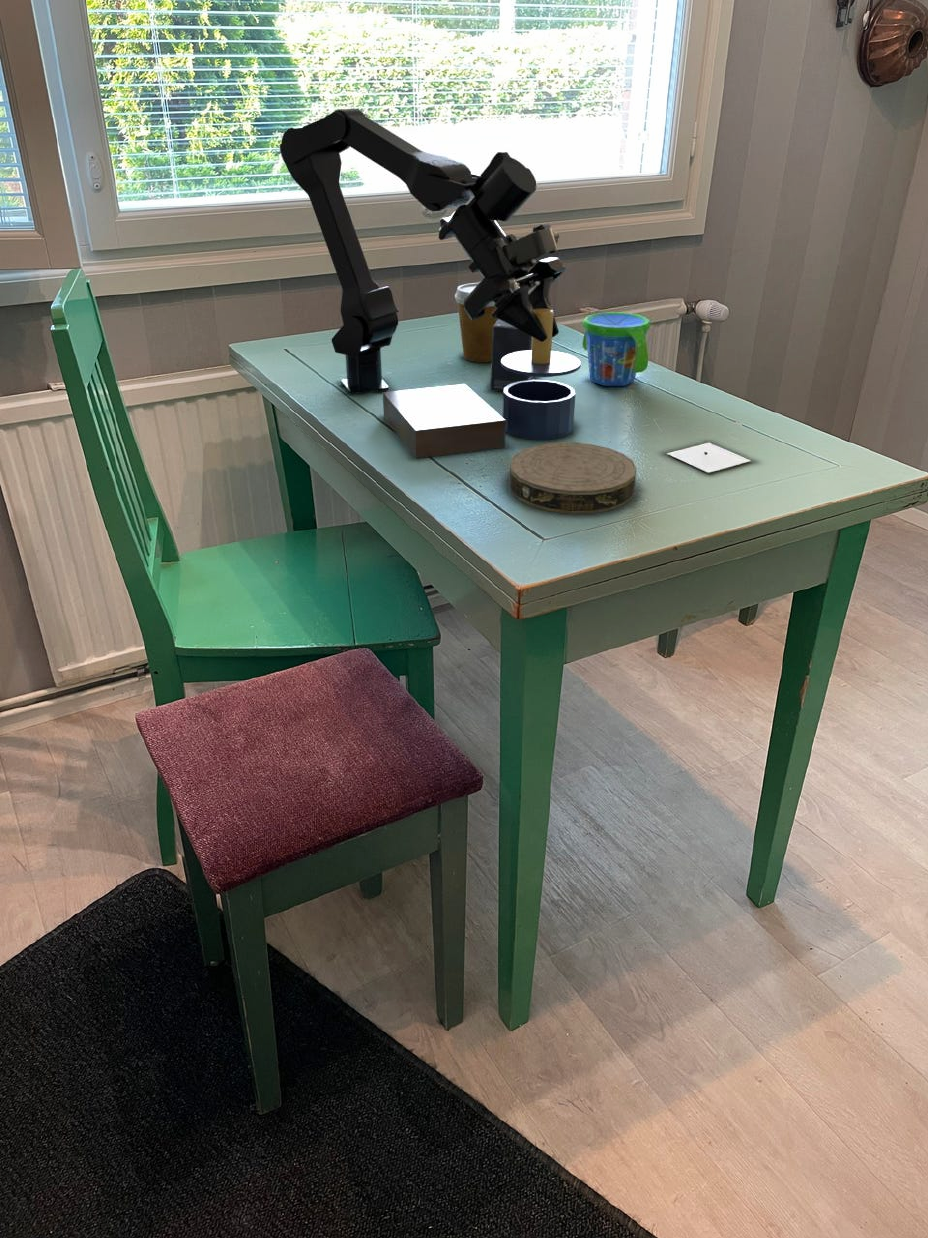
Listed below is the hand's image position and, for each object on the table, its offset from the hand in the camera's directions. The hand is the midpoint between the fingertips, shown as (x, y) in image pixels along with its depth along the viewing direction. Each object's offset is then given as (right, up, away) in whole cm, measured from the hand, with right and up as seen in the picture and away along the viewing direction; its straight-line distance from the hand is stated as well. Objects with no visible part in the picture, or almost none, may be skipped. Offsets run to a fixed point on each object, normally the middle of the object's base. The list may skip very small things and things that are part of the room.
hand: (550, 337), depth 130 cm
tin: (-1, -11, +8) cm, 13 cm away
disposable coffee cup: (-9, +8, +38) cm, 40 cm away
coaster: (+21, -17, -2) cm, 28 cm away
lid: (-1, -3, +3) cm, 4 cm away
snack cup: (+13, +1, +27) cm, 30 cm away
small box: (-4, 0, +26) cm, 26 cm away
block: (-15, -12, +6) cm, 20 cm away
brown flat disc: (+2, -23, -11) cm, 25 cm away
